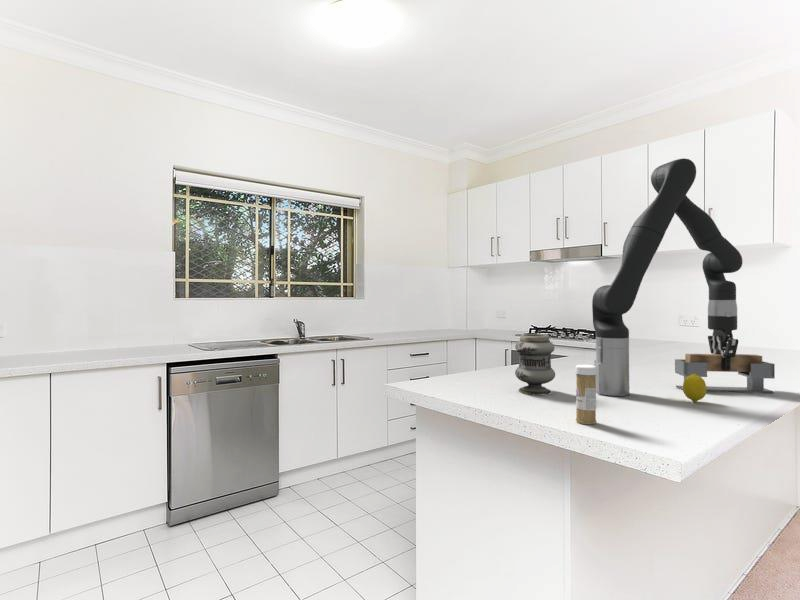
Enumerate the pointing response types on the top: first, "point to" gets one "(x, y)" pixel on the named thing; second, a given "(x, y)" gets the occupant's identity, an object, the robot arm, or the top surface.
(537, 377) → the apothecary jar
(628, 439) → the top surface
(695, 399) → the lemon
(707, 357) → the rail
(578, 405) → the sprinkles bottle
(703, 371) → the bracket stand
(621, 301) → the robot arm
